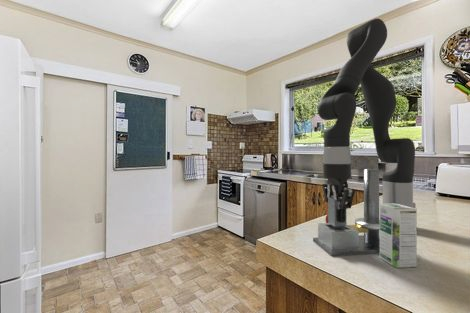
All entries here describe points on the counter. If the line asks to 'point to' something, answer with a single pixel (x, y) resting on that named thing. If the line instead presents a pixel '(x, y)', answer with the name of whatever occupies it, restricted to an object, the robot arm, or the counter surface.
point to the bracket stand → (356, 225)
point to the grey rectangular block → (333, 213)
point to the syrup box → (398, 235)
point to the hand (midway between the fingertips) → (337, 219)
